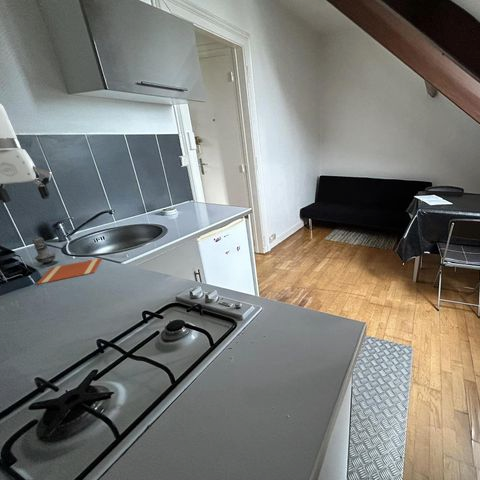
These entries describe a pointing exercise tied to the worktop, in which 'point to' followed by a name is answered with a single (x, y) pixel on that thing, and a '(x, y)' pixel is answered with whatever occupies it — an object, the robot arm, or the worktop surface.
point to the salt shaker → (43, 253)
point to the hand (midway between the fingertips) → (27, 200)
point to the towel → (70, 271)
